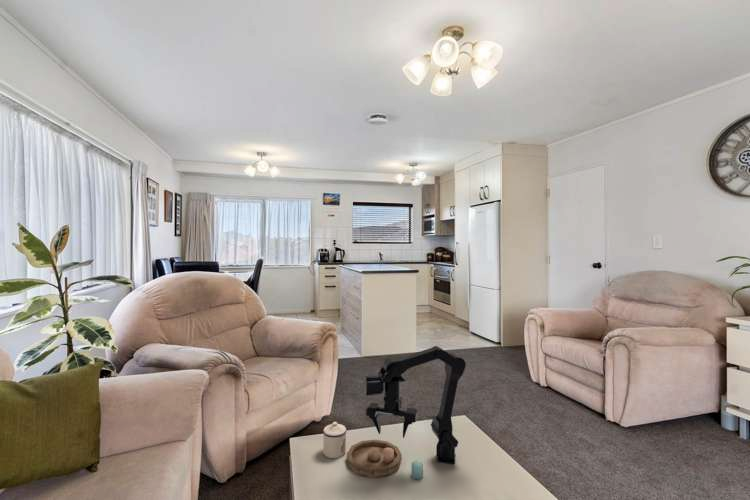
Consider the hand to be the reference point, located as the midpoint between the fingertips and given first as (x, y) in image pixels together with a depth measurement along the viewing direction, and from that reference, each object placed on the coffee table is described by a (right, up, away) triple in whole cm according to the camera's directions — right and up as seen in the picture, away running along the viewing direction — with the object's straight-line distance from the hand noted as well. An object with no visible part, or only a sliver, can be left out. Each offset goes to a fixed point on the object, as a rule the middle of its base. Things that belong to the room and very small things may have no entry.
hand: (391, 435), depth 131 cm
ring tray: (-6, -11, +2) cm, 13 cm away
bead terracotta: (-1, -10, +1) cm, 10 cm away
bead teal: (+9, -11, -6) cm, 15 cm away
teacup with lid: (-22, -11, +9) cm, 26 cm away
